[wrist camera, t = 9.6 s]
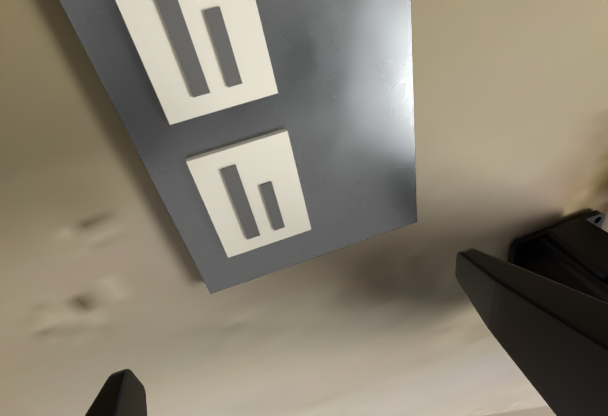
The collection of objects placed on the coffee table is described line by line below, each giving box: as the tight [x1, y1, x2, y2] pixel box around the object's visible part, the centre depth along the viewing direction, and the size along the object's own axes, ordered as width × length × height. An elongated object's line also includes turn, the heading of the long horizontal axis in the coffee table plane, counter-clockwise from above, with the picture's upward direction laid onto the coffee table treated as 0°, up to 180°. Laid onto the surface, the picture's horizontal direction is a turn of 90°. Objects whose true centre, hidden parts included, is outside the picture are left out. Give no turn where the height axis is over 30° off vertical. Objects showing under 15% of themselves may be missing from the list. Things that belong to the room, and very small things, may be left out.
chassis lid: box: [59, 0, 417, 294], centre depth 14 cm, size 18×11×1 cm, turn 11°
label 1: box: [115, 0, 278, 125], centre depth 12 cm, size 5×4×1 cm
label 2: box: [186, 128, 311, 258], centre depth 16 cm, size 5×4×1 cm
